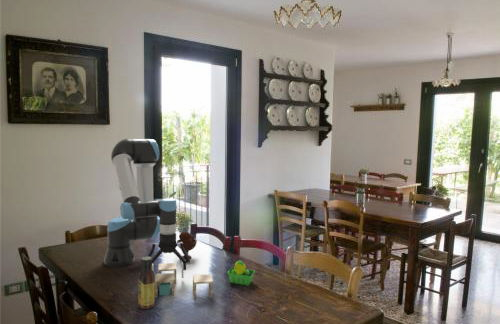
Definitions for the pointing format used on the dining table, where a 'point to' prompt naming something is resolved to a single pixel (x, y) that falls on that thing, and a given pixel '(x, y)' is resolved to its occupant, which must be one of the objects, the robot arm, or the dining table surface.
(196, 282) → the cover
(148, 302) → the sauce bottle
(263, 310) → the dining table surface
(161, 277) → the cover
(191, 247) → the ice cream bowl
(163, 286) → the teal cube
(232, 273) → the fruit basket
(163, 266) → the cover
